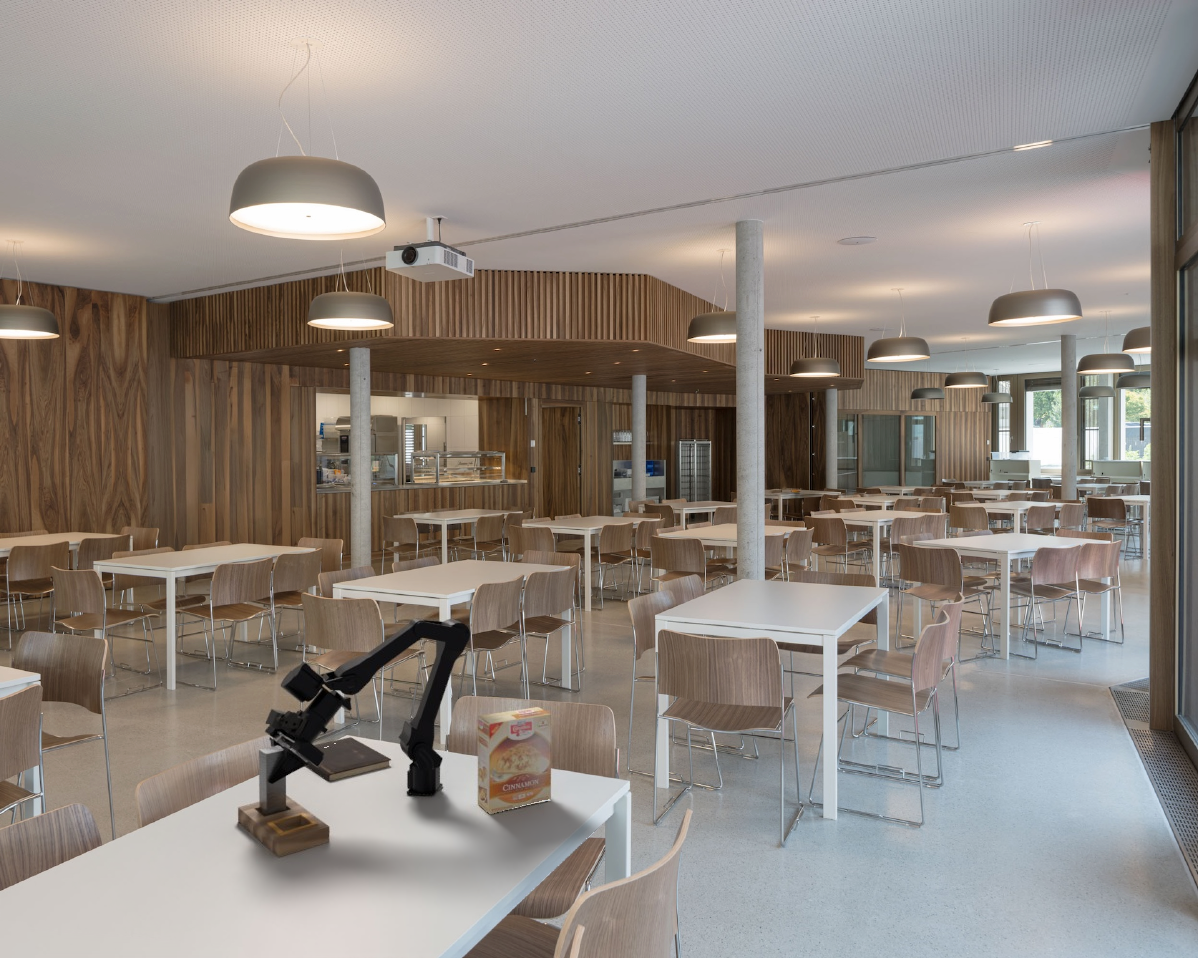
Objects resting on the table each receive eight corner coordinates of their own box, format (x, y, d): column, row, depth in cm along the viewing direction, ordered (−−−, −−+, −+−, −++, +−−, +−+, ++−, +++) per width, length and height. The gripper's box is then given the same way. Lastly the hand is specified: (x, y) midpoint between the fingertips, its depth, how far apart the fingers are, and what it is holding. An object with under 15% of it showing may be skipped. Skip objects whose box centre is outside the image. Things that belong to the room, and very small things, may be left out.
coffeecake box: (489, 815, 177) (489, 723, 177) (476, 804, 184) (476, 715, 183) (552, 801, 185) (552, 713, 185) (538, 790, 191) (537, 705, 191)
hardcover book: (351, 745, 225) (351, 736, 225) (391, 768, 208) (391, 758, 208) (291, 758, 215) (291, 749, 215) (328, 783, 197) (328, 773, 197)
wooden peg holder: (238, 821, 174) (238, 805, 174) (285, 808, 181) (285, 793, 181) (278, 857, 158) (278, 839, 158) (329, 841, 165) (329, 824, 165)
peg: (259, 809, 174) (258, 749, 173) (278, 804, 176) (278, 745, 176) (266, 815, 171) (266, 754, 171) (286, 810, 173) (285, 749, 173)
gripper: (274, 685, 183) (221, 747, 176) (309, 702, 169) (253, 770, 162) (309, 714, 188) (260, 775, 181) (346, 733, 174) (294, 800, 167)
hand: (265, 779), depth 172 cm, fingers closed on peg, 4 cm apart
